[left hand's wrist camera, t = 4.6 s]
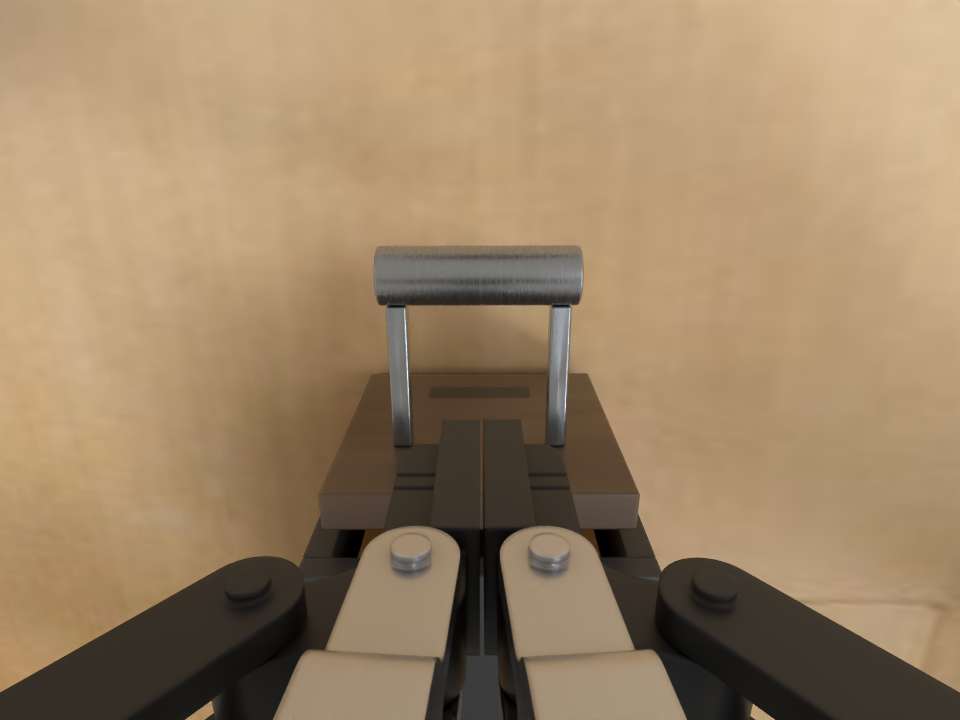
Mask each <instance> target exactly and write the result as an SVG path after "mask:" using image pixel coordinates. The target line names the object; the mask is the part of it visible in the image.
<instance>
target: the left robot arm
mask: <svg viewBox="0 0 960 720" xmlns="http://www.w3.org/2000/svg"><path fill="white" fill-rule="evenodd" d="M483 563H484V655H498V708H499V717H500V720H755V719H753V718H752V717H751V716H750V714H751V709H752V705H753V704H754V705H756V706H757V707H758V708H760V709H761V710H763V711H764V712H765V713H767V714H768V715H770V716H771V717H772V718H774V719H775V720H960V692H958V691H956V690H954V689H952V688H951V687H949V686H947V685H945V684H944V683H942V682H940V681H938V680H937V679H935V678H933V677H931V676H929V675H928V674H926V673H924V672H922V671H921V670H919V669H917V668H915V667H913V666H912V665H910V664H908V663H906V662H905V661H903V660H901V659H899V658H898V657H896V656H894V655H892V654H890V653H889V652H887V651H885V650H883V649H882V648H880V647H878V646H876V645H875V644H873V643H871V642H869V641H867V640H866V639H864V638H862V637H860V636H859V635H857V634H855V633H853V632H851V631H850V630H848V629H846V628H844V627H843V626H841V625H839V624H837V623H836V622H834V621H832V620H830V619H828V618H827V617H825V616H823V615H821V614H820V613H818V612H816V611H814V610H812V609H811V608H809V607H807V606H805V605H804V604H802V603H800V602H798V601H797V600H795V599H793V598H791V597H789V596H788V595H786V594H784V593H782V592H781V591H779V590H777V589H775V588H774V587H772V586H770V585H768V584H766V583H765V582H763V581H761V580H759V579H758V578H756V577H754V576H752V575H750V574H749V573H747V572H745V571H743V570H741V569H739V568H737V567H735V566H733V565H731V564H728V563H725V562H722V561H718V560H713V559H708V558H687V559H681V560H678V561H675V562H673V563H671V564H669V565H668V566H667V567H666V568H664V570H663V571H662V572H661V574H660V577H659V582H658V581H654V580H649V579H645V578H640V577H636V576H632V575H628V574H625V573H622V572H619V571H616V570H614V569H612V568H610V567H608V566H606V565H605V564H603V563H602V562H601V561H600V559H599V556H598V554H597V551H596V550H595V548H594V546H593V545H592V544H591V543H590V542H589V541H588V540H587V539H586V538H584V537H583V536H582V532H581V528H580V524H579V520H578V516H577V512H576V508H575V504H574V500H573V496H572V492H571V490H570V484H569V480H568V477H567V472H566V468H565V464H564V460H563V457H562V456H561V455H560V454H559V453H558V452H556V451H555V450H554V449H553V448H552V447H551V446H550V445H549V444H524V439H523V432H522V425H521V419H483ZM467 656H480V419H443V420H442V427H441V435H440V443H439V444H414V445H413V446H412V447H411V448H410V449H409V450H408V451H407V452H406V453H405V454H404V455H403V456H402V457H401V458H400V462H399V466H398V470H397V477H396V479H395V483H394V490H393V491H392V496H391V500H390V504H389V508H388V512H387V517H386V521H385V525H384V529H383V533H382V534H380V535H379V536H377V537H376V538H374V539H373V540H372V541H371V542H370V543H369V544H368V545H367V546H366V548H365V550H364V551H363V554H362V556H361V559H360V561H359V564H358V566H357V567H355V568H353V569H351V570H349V571H346V572H343V573H341V574H337V575H334V576H330V577H325V578H321V579H316V580H312V581H308V582H304V578H303V575H302V572H301V570H300V569H299V568H298V567H297V566H296V565H295V564H294V563H292V562H290V561H288V560H285V559H282V558H278V557H269V556H262V557H252V558H247V559H243V560H239V561H236V562H233V563H231V564H228V565H226V566H224V567H222V568H220V569H218V570H217V571H215V572H213V573H211V574H210V575H208V576H206V577H204V578H202V579H201V580H199V581H197V582H195V583H194V584H192V585H190V586H188V587H187V588H185V589H183V590H181V591H179V592H178V593H176V594H174V595H172V596H171V597H169V598H167V599H165V600H163V601H162V602H160V603H158V604H156V605H155V606H153V607H151V608H149V609H148V610H146V611H144V612H142V613H140V614H139V615H137V616H135V617H133V618H132V619H130V620H128V621H126V622H124V623H123V624H121V625H119V626H117V627H116V628H114V629H112V630H110V631H109V632H107V633H105V634H103V635H101V636H100V637H98V638H96V639H94V640H93V641H91V642H89V643H87V644H86V645H84V646H82V647H80V648H78V649H77V650H75V651H73V652H71V653H70V654H68V655H66V656H64V657H62V658H61V659H59V660H57V661H55V662H54V663H52V664H50V665H48V666H47V667H45V668H43V669H41V670H39V671H38V672H36V673H34V674H32V675H31V676H29V677H27V678H25V679H23V680H22V681H20V682H18V683H16V684H15V685H13V686H11V687H9V688H8V689H6V690H4V691H2V692H0V720H185V719H186V718H188V717H189V716H190V715H192V714H193V713H195V712H196V711H197V710H199V709H200V708H202V707H203V706H204V705H206V704H207V703H208V702H210V701H211V700H212V705H213V710H214V713H213V714H212V715H211V716H209V717H208V718H207V719H205V720H460V717H461V708H462V688H463V686H464V683H465V680H466V665H467Z"/></svg>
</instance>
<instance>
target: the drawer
mask: <svg viewBox="0 0 960 720" xmlns="http://www.w3.org/2000/svg"><path fill="white" fill-rule="evenodd" d="M374 288H375V295H376V299H377V302H378V304H379V305H388V306H387V308H386V319H387V336H388V354H389V372H390V374H372V375H371V377H370V380H369V382H368V384H367V386H366V389H365V391H364V393H363V395H362V398H361V400H360V402H359V404H358V407H357V409H356V411H355V413H354V416H353V418H352V420H351V423H350V425H349V427H348V429H347V432H346V434H345V436H344V438H343V441H342V443H341V445H340V447H339V450H338V452H337V454H336V456H335V459H334V461H333V463H332V466H331V468H330V470H329V472H328V475H327V477H326V479H325V481H324V484H323V486H322V488H321V490H320V493H319V505H320V514H321V524H322V528H323V529H324V530H365V533H364V537H363V540H362V544H361V547H360V551H359V554H358V558H361V556H362V554H363V551H364V550H365V548H366V546H367V545H368V544H369V543H370V542H371V541H372V540H373V539H374V538H376V537H377V536H379V535H380V534H382V533H383V529H384V525H385V521H386V517H387V512H388V508H389V504H390V500H391V496H392V491H393V490H394V483H395V479H396V477H397V470H398V466H399V462H400V458H401V457H402V456H403V455H404V454H405V453H406V452H407V451H408V450H409V449H410V448H411V447H412V446H413V445H414V444H439V443H440V435H441V427H442V420H443V419H480V558H483V419H521V425H522V432H523V439H524V444H549V445H550V446H551V447H552V448H553V449H554V450H555V451H556V452H558V453H559V454H560V455H561V456H562V457H563V460H564V464H565V468H566V472H567V477H568V480H569V484H570V490H571V492H572V496H573V500H574V504H575V508H576V512H577V516H578V520H579V524H580V528H581V532H582V536H583V537H584V538H586V539H587V540H588V541H589V542H590V543H591V544H592V545H593V546H594V548H595V550H596V551H597V554H598V556H599V557H601V555H600V551H599V548H598V544H597V541H596V537H595V533H594V530H593V529H636V526H637V517H638V507H639V497H640V494H639V492H638V490H637V487H636V485H635V483H634V480H633V478H632V476H631V473H630V471H629V469H628V466H627V464H626V462H625V459H624V457H623V455H622V452H621V450H620V448H619V445H618V443H617V441H616V438H615V436H614V434H613V432H612V429H611V427H610V425H609V422H608V420H607V418H606V415H605V413H604V411H603V408H602V406H601V404H600V401H599V399H598V397H597V394H596V392H595V390H594V387H593V385H592V383H591V380H590V378H589V376H588V374H568V373H569V353H570V332H571V312H572V308H571V306H570V305H578V304H579V303H580V301H581V297H582V290H583V255H582V250H581V248H580V246H379V247H377V249H376V252H375V257H374ZM408 305H549V331H548V358H547V374H411V357H410V334H409V310H408Z"/></svg>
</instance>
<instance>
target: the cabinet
mask: <svg viewBox="0 0 960 720" xmlns="http://www.w3.org/2000/svg"><path fill="white" fill-rule="evenodd" d="M593 530H594V533H595V537H596V541H597V544H598V548H599V551H600V555H601V557H599V559H600V561H601V562H602V563H603V564H605V565H606V566H608V567H610V568H612V569H614V570H616V571H619V572H622V573H625V574H628V575H632V576H636V577H640V578H645V579H649V580H654V581H658V582H659V577H660V574H661V570H660V567H659V565H658V562H657V560H656V558H655V555H654V552H653V550H652V547H651V545H650V542H649V540H648V537H647V535H646V532H645V530H644V527H643V525H642V522H641V520H640V517H639V515H638V517H637V526H636V529H593ZM364 533H365V530H324V529H323V528H322V524H321V515H320V517H319V520H318V522H317V525H316V527H315V530H314V532H313V534H312V537H311V539H310V542H309V544H308V546H307V549H306V551H305V554H304V556H303V559H302V562H301V564H300V566H299V569H300V570H301V572H302V575H303V578H304V582H308V581H312V580H316V579H321V578H325V577H330V576H334V575H337V574H341V573H343V572H346V571H349V570H351V569H353V568H355V567H357V566H358V564H359V561H360V559H361V558H358V554H359V551H360V547H361V544H362V540H363V537H364ZM460 720H500V717H499V708H498V655H484V563H483V558H480V656H467V665H466V680H465V683H464V686H463V688H462V708H461V717H460Z"/></svg>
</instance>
